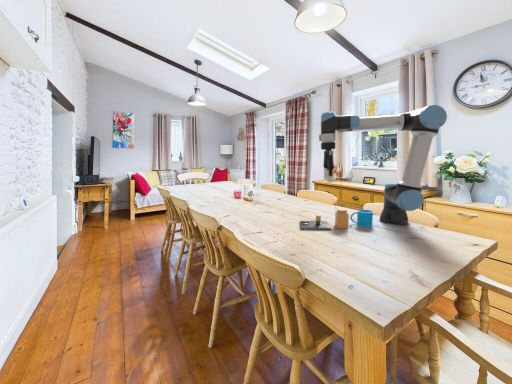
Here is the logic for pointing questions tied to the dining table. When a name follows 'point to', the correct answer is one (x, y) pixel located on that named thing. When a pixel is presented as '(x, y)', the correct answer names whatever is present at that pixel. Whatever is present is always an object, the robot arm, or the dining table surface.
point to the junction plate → (315, 224)
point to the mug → (363, 218)
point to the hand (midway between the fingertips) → (328, 180)
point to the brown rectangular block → (341, 218)
